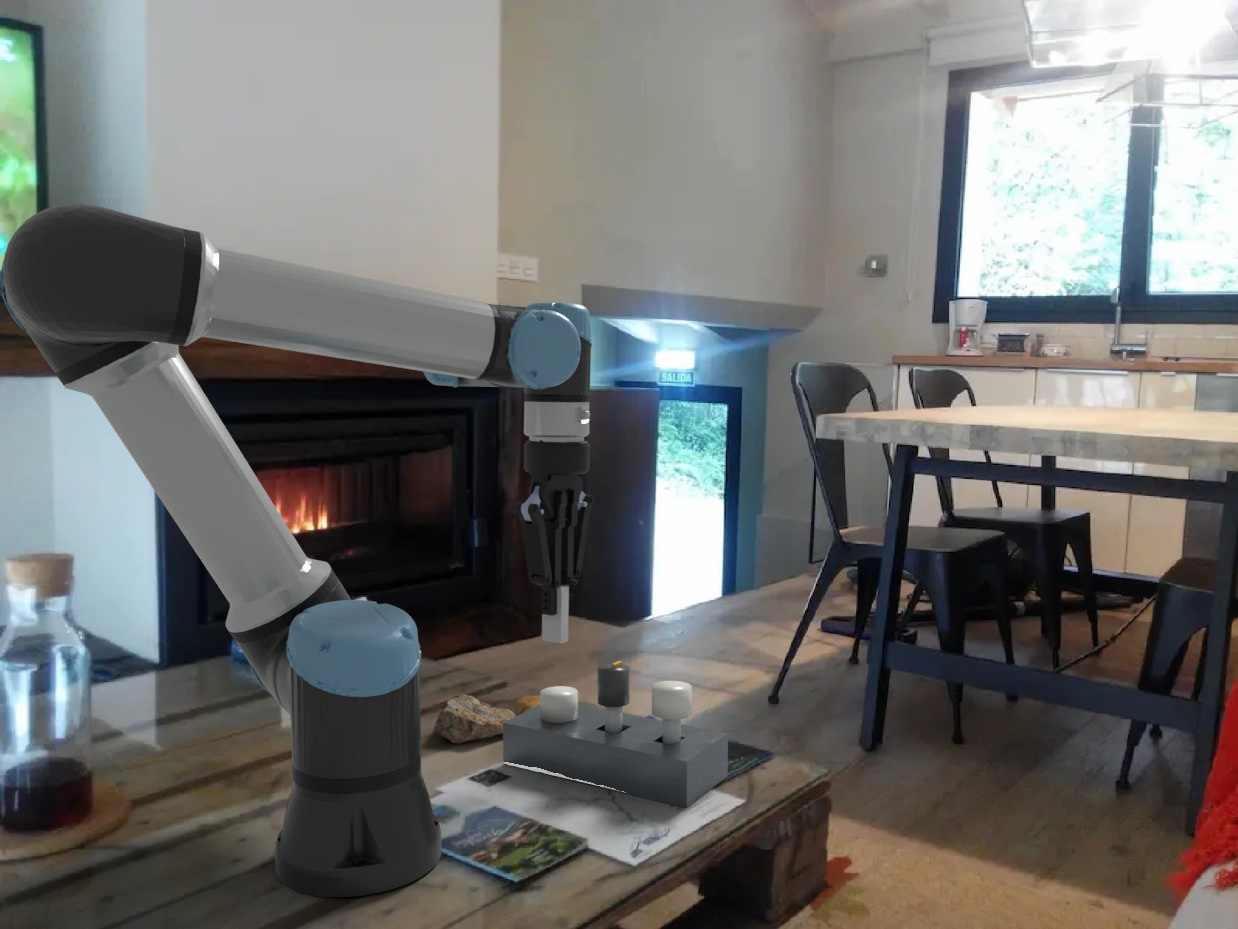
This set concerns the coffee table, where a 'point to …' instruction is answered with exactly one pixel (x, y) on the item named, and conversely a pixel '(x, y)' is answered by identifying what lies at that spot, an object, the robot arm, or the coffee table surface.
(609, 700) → the pot knob
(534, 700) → the pastry
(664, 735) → the plunger near
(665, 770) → the panel
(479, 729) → the rock
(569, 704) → the plunger far
